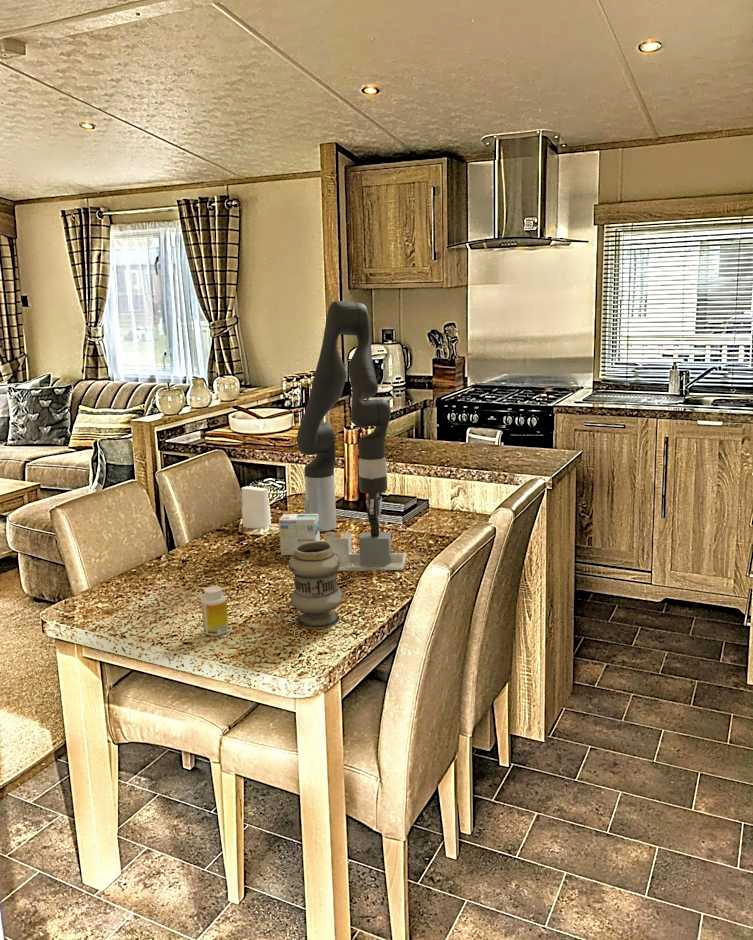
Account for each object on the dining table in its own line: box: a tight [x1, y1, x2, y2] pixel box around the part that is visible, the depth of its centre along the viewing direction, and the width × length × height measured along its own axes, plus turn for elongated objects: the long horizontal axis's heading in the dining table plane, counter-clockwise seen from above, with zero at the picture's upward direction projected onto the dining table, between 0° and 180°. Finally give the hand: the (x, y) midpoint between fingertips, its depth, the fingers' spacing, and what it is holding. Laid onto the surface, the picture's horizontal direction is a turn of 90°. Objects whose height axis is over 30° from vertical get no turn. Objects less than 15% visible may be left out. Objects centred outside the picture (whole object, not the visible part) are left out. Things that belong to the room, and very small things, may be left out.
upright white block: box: [241, 485, 272, 529], centre depth 274 cm, size 9×9×12 cm
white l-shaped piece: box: [325, 531, 407, 572], centre depth 233 cm, size 22×12×9 cm, turn 84°
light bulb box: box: [278, 513, 321, 556], centre depth 245 cm, size 11×7×11 cm, turn 84°
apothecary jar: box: [288, 540, 344, 630], centre depth 194 cm, size 12×12×18 cm
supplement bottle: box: [200, 585, 230, 637], centre depth 191 cm, size 6×6×10 cm
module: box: [358, 531, 392, 564], centre depth 233 cm, size 8×6×7 cm
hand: (375, 535), depth 232 cm, fingers closed
